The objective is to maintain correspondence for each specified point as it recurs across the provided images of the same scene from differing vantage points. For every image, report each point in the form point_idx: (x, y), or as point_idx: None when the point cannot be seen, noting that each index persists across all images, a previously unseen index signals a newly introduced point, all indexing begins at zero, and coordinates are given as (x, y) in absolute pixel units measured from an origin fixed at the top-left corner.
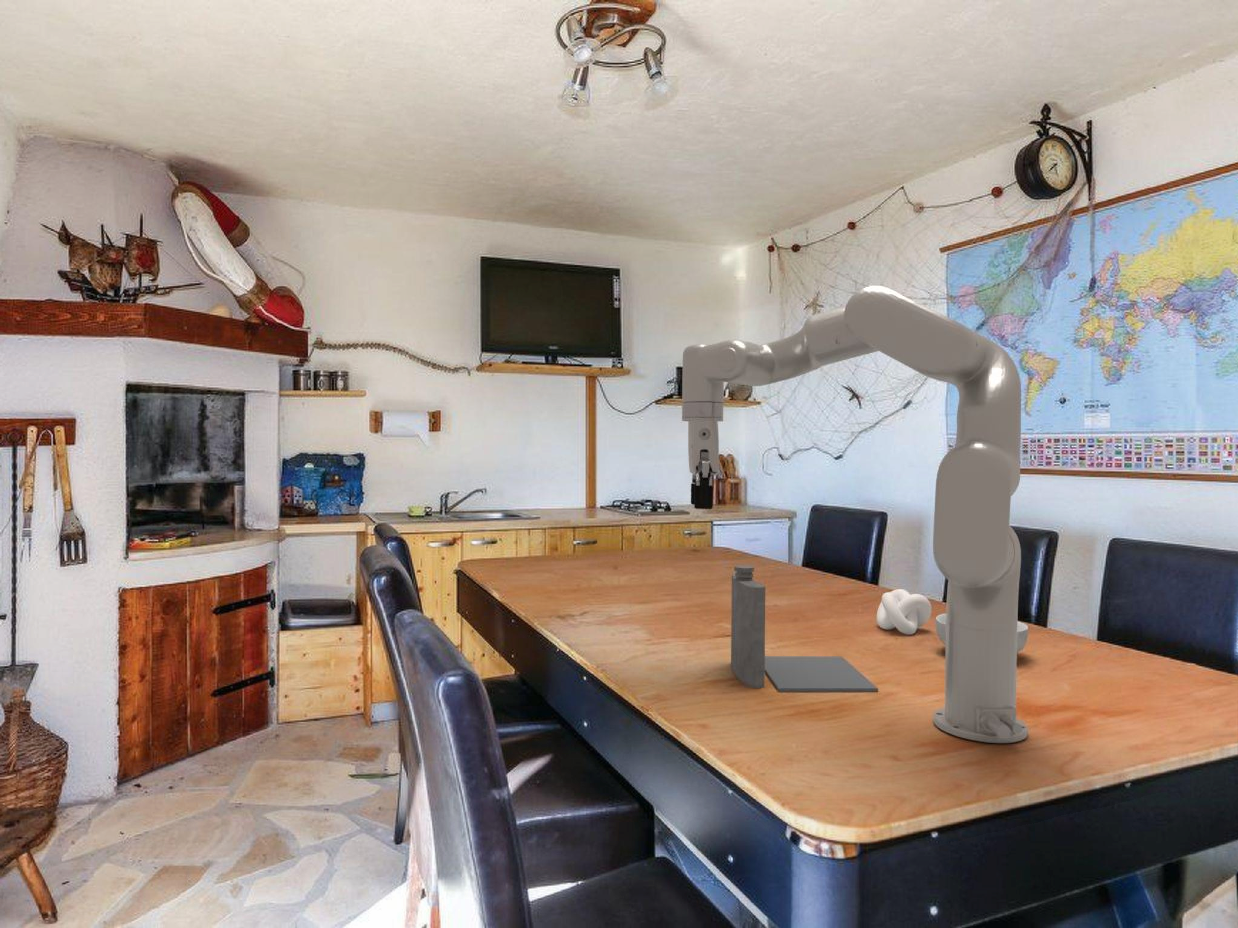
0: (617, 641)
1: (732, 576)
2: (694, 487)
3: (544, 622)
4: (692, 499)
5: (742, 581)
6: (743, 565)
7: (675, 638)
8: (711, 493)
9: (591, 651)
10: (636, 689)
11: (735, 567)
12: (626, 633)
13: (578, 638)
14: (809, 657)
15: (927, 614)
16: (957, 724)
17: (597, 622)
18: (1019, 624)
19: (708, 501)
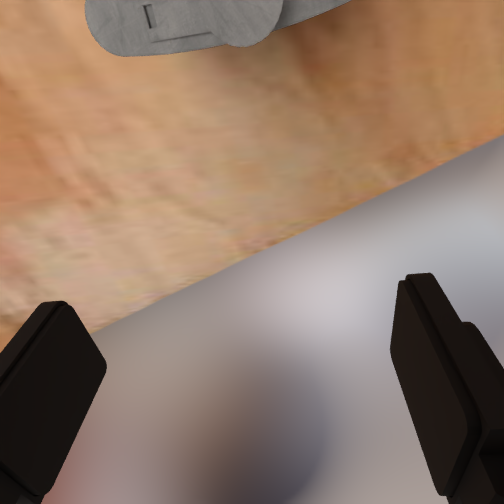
0: (117, 245)
1: (185, 51)
2: (49, 462)
3: None
4: (96, 387)
5: (292, 5)
6: (229, 1)
7: (52, 160)
8: (482, 367)
9: (185, 269)
10: (361, 191)
11: (260, 41)
12: (63, 239)
13: (125, 292)
14: None
15: None
16: None
17: (22, 284)
18: None
19: (476, 329)
